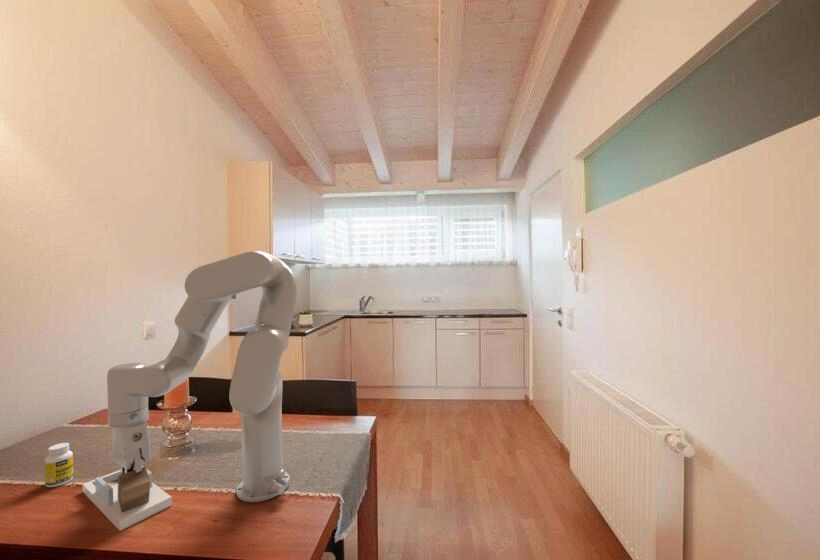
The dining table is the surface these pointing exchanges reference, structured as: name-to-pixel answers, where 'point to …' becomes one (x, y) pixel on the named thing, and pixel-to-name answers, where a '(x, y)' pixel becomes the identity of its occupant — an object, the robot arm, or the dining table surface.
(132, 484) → the walnut block
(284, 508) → the dining table surface
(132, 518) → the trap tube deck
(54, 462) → the supplement bottle
